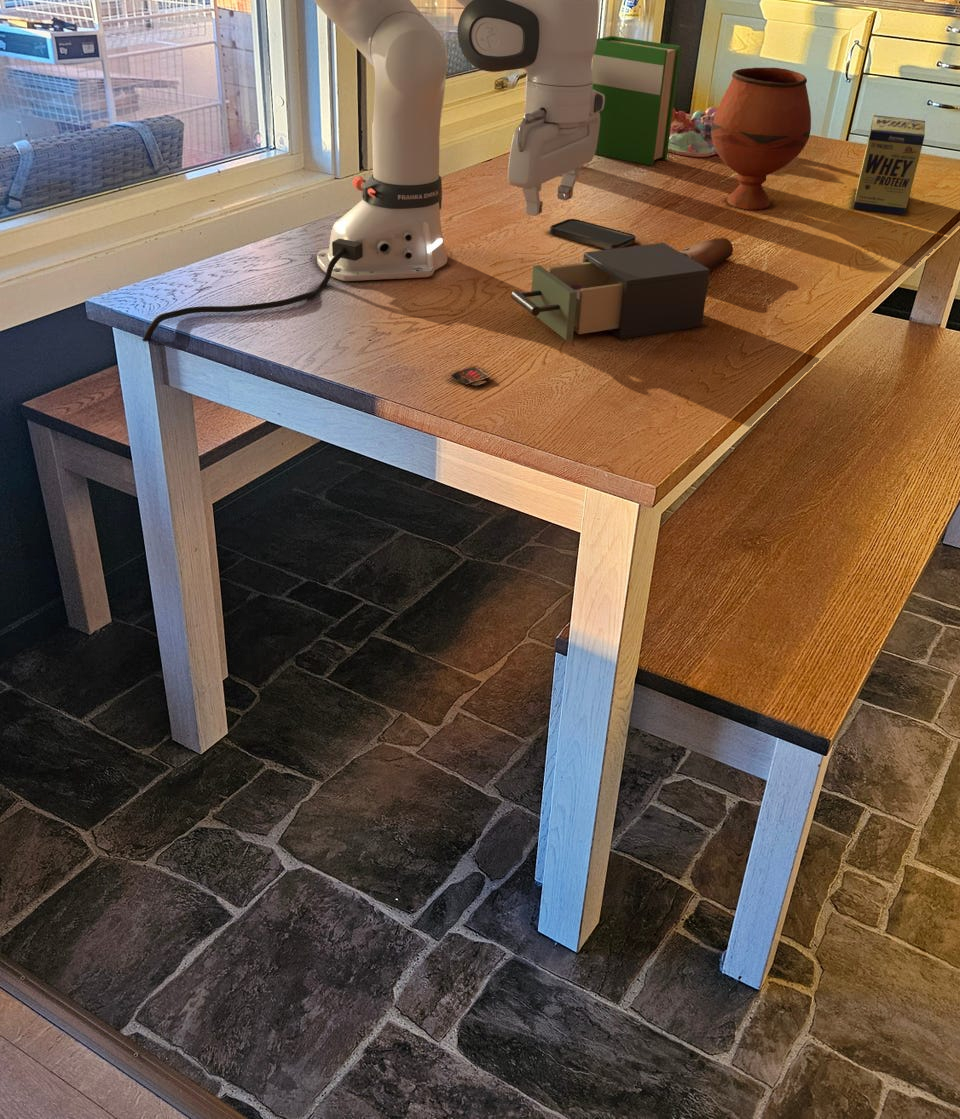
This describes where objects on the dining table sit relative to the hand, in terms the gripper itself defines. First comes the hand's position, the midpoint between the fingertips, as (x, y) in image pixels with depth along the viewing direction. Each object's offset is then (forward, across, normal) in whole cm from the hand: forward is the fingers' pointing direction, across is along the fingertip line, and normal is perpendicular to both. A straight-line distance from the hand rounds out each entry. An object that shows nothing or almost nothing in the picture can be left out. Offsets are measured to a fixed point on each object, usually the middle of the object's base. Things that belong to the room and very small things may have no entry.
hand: (549, 206), depth 154 cm
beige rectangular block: (+17, +6, -4) cm, 18 cm away
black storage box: (+19, +14, -10) cm, 26 cm away
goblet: (+18, +85, -4) cm, 87 cm away
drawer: (+18, +5, -3) cm, 19 cm away
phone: (+19, +45, +13) cm, 50 cm away
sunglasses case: (+19, +40, -9) cm, 45 cm away
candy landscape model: (+18, +125, +21) cm, 128 cm away
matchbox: (+19, -20, 0) cm, 28 cm away
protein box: (+18, +103, -26) cm, 108 cm away
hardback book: (+18, +104, +33) cm, 111 cm away
